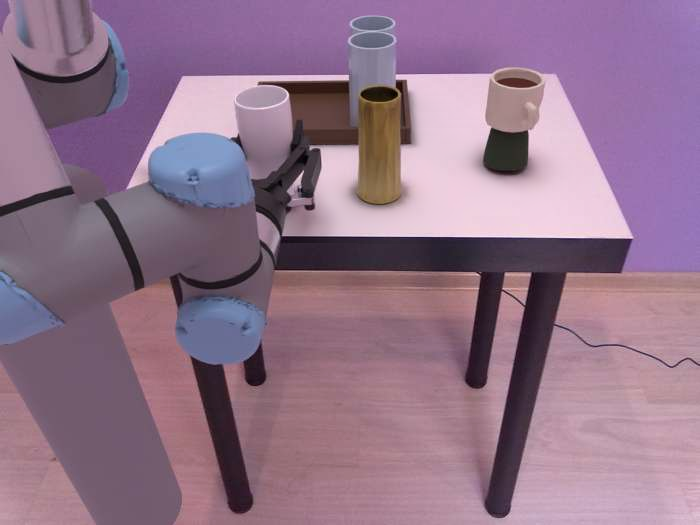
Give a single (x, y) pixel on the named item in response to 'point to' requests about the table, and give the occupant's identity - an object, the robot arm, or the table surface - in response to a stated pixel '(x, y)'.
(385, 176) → the vase
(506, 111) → the character mug
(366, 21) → the tumbler
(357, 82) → the tumbler
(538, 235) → the table surface
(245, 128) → the drinking glass
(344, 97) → the tray
